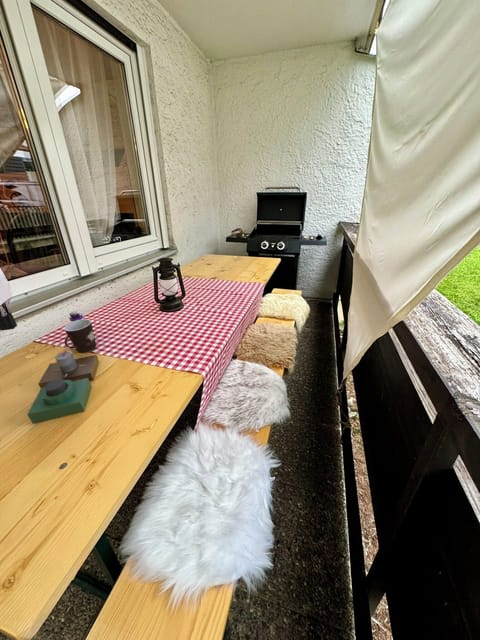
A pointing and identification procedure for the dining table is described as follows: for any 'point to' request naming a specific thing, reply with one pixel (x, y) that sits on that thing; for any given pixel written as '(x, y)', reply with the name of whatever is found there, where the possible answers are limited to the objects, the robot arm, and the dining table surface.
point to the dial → (66, 361)
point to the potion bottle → (75, 316)
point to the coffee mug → (81, 335)
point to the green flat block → (61, 402)
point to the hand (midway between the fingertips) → (9, 328)
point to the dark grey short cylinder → (56, 387)
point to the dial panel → (82, 371)
